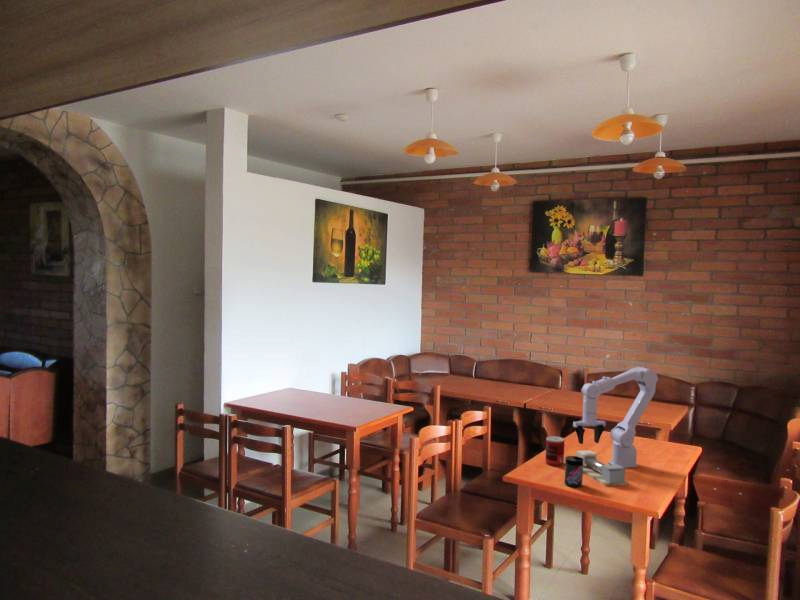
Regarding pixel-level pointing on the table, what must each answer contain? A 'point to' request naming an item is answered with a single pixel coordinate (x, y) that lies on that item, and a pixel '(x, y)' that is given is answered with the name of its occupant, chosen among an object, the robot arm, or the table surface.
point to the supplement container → (573, 471)
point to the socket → (613, 473)
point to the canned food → (554, 451)
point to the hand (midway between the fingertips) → (588, 442)
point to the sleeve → (586, 454)
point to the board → (600, 476)
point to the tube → (593, 464)
